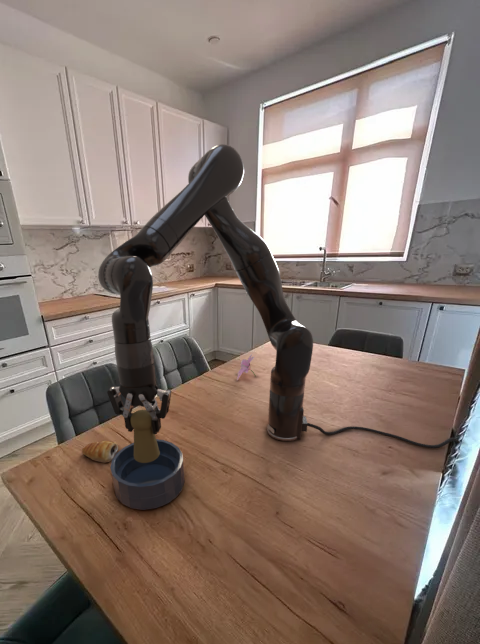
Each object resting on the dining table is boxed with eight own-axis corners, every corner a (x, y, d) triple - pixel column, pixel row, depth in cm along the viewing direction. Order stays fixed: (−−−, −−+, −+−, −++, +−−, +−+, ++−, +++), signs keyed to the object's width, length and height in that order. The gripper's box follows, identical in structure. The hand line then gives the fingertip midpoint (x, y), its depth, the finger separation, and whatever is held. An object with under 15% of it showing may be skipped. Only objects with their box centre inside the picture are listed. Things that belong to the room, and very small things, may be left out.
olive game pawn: (155, 464, 68) (150, 421, 64) (129, 461, 70) (123, 419, 66) (163, 447, 74) (158, 406, 70) (139, 445, 75) (133, 405, 71)
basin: (191, 465, 81) (190, 442, 78) (173, 516, 66) (171, 491, 63) (131, 457, 84) (128, 436, 82) (102, 505, 69) (97, 480, 67)
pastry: (78, 460, 84) (75, 448, 83) (90, 445, 90) (88, 434, 89) (110, 464, 82) (108, 452, 81) (120, 448, 88) (119, 437, 87)
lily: (244, 371, 138) (234, 354, 134) (268, 365, 130) (258, 347, 127) (236, 389, 130) (225, 372, 126) (261, 384, 122) (250, 366, 118)
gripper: (93, 365, 61) (106, 437, 68) (163, 368, 58) (169, 444, 64) (111, 352, 68) (121, 419, 74) (174, 355, 65) (179, 424, 71)
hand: (143, 430), depth 69 cm, fingers closed on olive game pawn, 5 cm apart
